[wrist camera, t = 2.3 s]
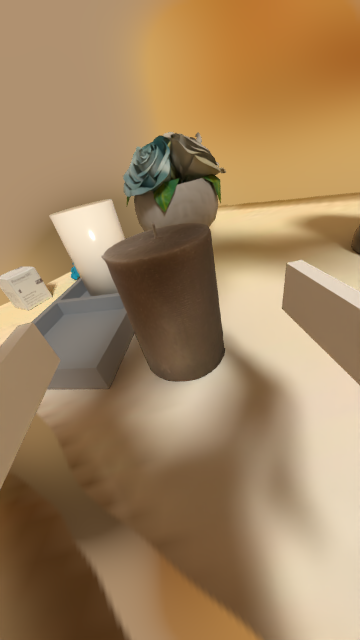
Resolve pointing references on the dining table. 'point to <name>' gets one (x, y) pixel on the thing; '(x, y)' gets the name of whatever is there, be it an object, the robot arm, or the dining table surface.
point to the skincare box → (24, 287)
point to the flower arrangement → (173, 182)
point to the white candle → (90, 241)
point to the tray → (85, 337)
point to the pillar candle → (171, 298)
